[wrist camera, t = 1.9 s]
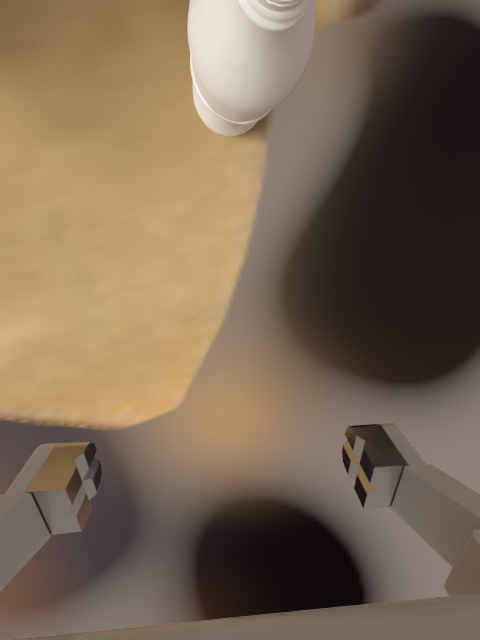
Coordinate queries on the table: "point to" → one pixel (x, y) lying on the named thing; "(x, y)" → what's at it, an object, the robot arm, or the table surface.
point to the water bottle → (246, 57)
